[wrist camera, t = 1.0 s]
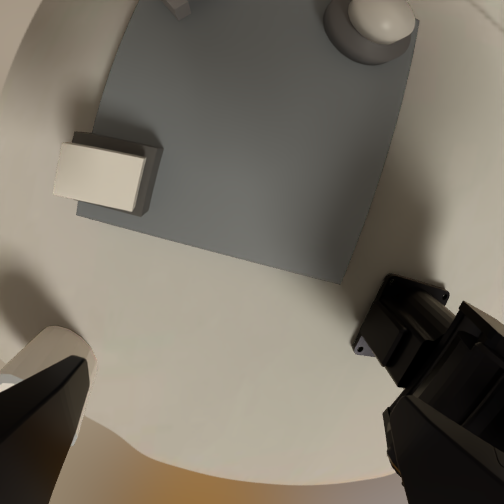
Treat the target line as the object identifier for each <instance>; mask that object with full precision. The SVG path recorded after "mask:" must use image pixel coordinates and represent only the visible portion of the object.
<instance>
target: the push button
mask: <svg viewBox="0 0 504 504" xmlns="http://www.w3.org/2000/svg"><path fill="white" fill-rule="evenodd" d="M348 14H349V18H350V21H351V23H352V25H353V26H354V28H355V29H356V30H357V31H358V32H359V33H360V34H361V35H362V36H363V37H365V38H366V39H368V40H370V41H372V42H374V43H377V44H381V45H389V44H392V43H395V42H396V41H398V40H400V39H402V38H404V37H406V36H408V35H409V34H411V33H412V31H413V29H414V27H415V16H414V13H413V10H412V8H411V7H410V5H409V3H408V2H407V1H406V0H352V1H351V2H350V4H349V8H348Z"/></svg>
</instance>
